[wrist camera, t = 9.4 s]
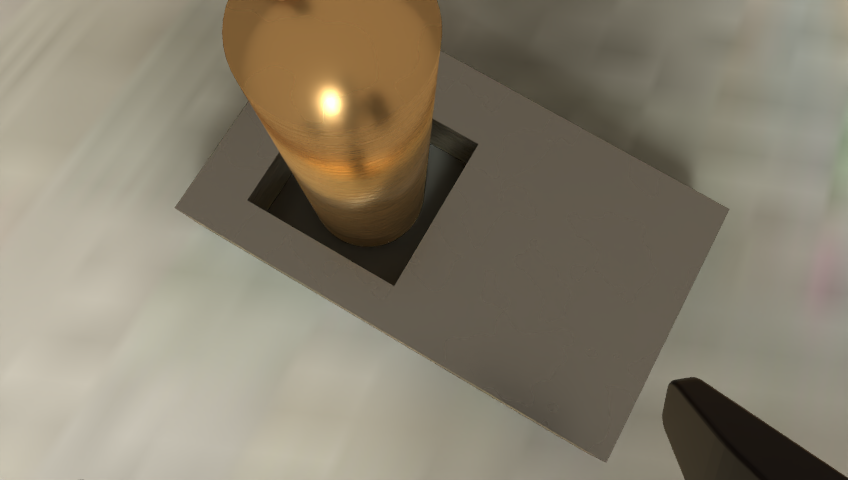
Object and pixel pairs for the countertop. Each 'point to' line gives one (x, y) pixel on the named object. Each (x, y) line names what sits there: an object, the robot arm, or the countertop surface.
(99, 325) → the countertop surface
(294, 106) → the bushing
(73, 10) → the countertop surface
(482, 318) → the plate
